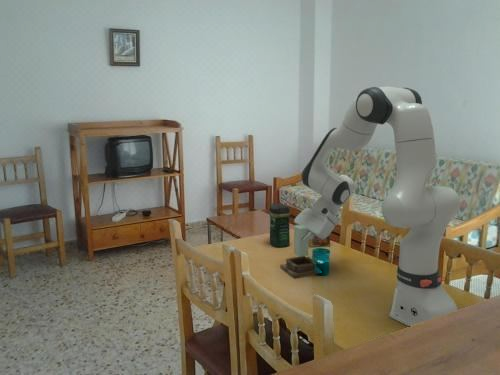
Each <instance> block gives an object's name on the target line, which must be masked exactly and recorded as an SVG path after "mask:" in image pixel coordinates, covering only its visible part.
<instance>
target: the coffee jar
mask: <svg viewBox="0 0 500 375" xmlns="http://www.w3.org/2000/svg"><path fill="white" fill-rule="evenodd" d="M290 212H291V210H290V206H288V205H285V204H283V203H280V202H275V203H271V205H269V243H270V244H271V245H272V246H273V247H277V248H279V247H280V248H285V247H288V246H290V243H291V242H290V241H291V239H290V215H291V213H290Z"/></svg>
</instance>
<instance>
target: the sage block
mask: <svg viewBox="0 0 500 375" xmlns="http://www.w3.org/2000/svg"><path fill="white" fill-rule="evenodd" d="M308 233H309V230H308V227H307V226H305V225H297V224H296V225H294V226H293V253H294V255H295V256H296V257H301V256H305V257H308V256H309V244H308V241H307V243H304V242H302V241H301V239H302V238H303V237H305V236H307V235H308Z"/></svg>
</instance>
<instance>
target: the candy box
mask: <svg viewBox="0 0 500 375" xmlns="http://www.w3.org/2000/svg"><path fill="white" fill-rule="evenodd" d="M330 243H331V233H330V234H329V235H328V236H327V237H326V238H325V239H323V240H322V239H320V238H318V237H317V236H314V237H313V238H312V239H310V240H308V247H309V248H315V247H316V248H317V247H330V246H331V244H330Z"/></svg>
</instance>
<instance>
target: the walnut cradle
mask: <svg viewBox="0 0 500 375" xmlns="http://www.w3.org/2000/svg"><path fill="white" fill-rule="evenodd" d="M313 260H314V259H313V258H312V257H309V256H301V257H298V256H295V257H289V258H286V260H285V263H282V264H280V265H279V268H280V270H281V269H282V271H284V272H286V273H287V274H288V275H289V276H291V277H292V278H293V279H294V280H295V279H299V278H300V279H301V278H307V277H312V276H316V274H317V271H314V269H315V264H314V263H313ZM317 275H318V274H317Z"/></svg>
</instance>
